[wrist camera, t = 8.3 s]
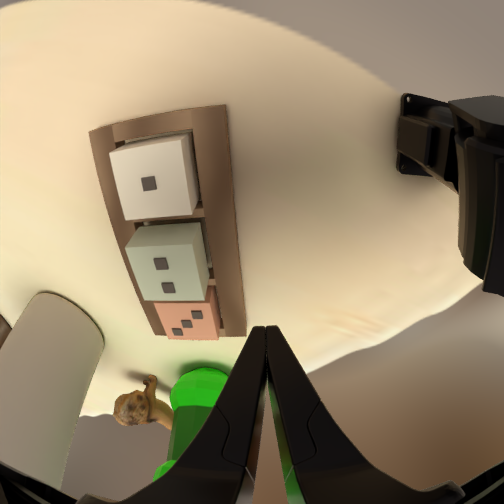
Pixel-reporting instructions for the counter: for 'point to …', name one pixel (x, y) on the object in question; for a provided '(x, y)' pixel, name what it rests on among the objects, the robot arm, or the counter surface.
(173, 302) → the tile three pips
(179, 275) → the tile two pips
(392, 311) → the counter surface
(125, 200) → the tile one pip
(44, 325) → the cylinder vase
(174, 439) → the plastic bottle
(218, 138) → the walnut board
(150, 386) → the lion figurine
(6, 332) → the plant pot
